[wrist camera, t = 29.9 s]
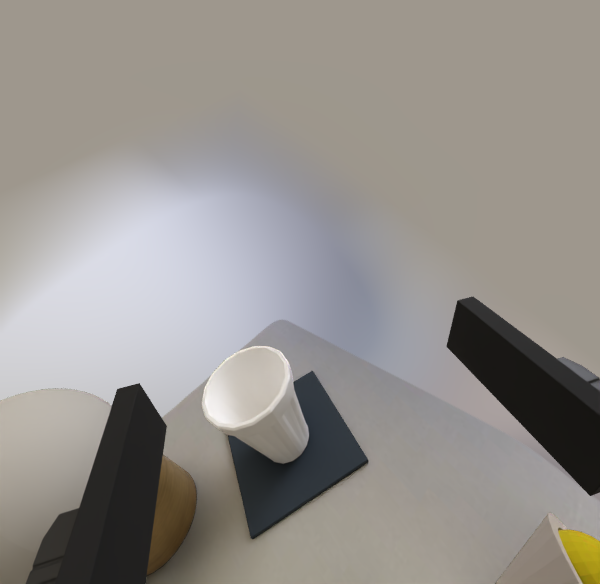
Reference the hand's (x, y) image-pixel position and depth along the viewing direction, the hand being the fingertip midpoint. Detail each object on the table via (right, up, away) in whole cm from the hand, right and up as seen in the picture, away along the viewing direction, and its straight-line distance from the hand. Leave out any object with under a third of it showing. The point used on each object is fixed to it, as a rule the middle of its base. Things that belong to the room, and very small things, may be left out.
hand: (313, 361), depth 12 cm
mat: (-2, -17, +27) cm, 32 cm away
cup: (-2, -16, +26) cm, 31 cm away
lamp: (-17, -26, +23) cm, 39 cm away
